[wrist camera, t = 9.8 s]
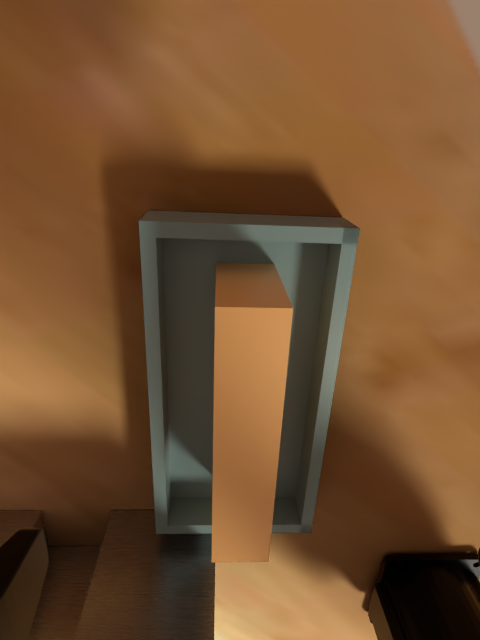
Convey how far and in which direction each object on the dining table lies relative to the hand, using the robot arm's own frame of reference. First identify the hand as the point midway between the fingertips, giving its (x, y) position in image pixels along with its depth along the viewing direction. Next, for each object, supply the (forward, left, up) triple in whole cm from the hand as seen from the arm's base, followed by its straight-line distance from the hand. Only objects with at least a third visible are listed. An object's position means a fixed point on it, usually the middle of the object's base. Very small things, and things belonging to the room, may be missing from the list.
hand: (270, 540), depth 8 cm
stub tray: (0, +4, -12) cm, 12 cm away
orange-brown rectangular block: (0, +3, -11) cm, 12 cm away
